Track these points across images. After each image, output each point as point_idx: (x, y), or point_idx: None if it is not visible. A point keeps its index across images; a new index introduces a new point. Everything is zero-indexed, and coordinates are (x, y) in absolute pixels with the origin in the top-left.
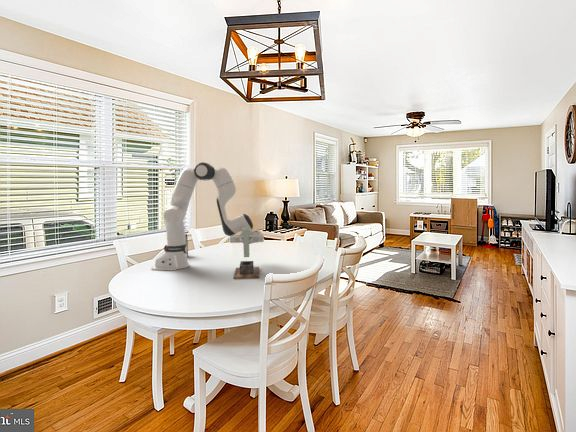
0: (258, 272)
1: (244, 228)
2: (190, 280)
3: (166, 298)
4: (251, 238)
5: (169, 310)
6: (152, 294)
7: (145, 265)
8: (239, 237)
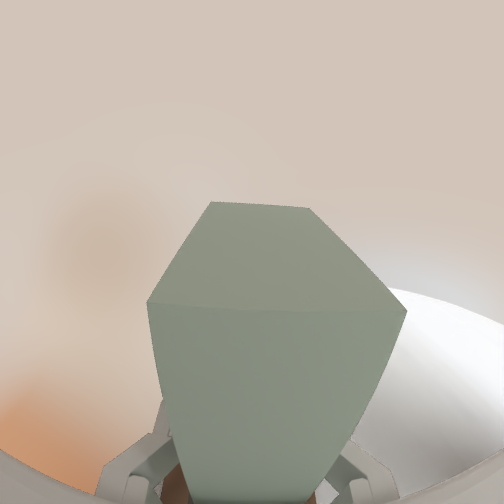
0: (162, 499)
1: (323, 255)
2: (463, 417)
3: (413, 315)
4: (146, 446)
5: None
6: (456, 329)
7: None
8: (408, 496)
